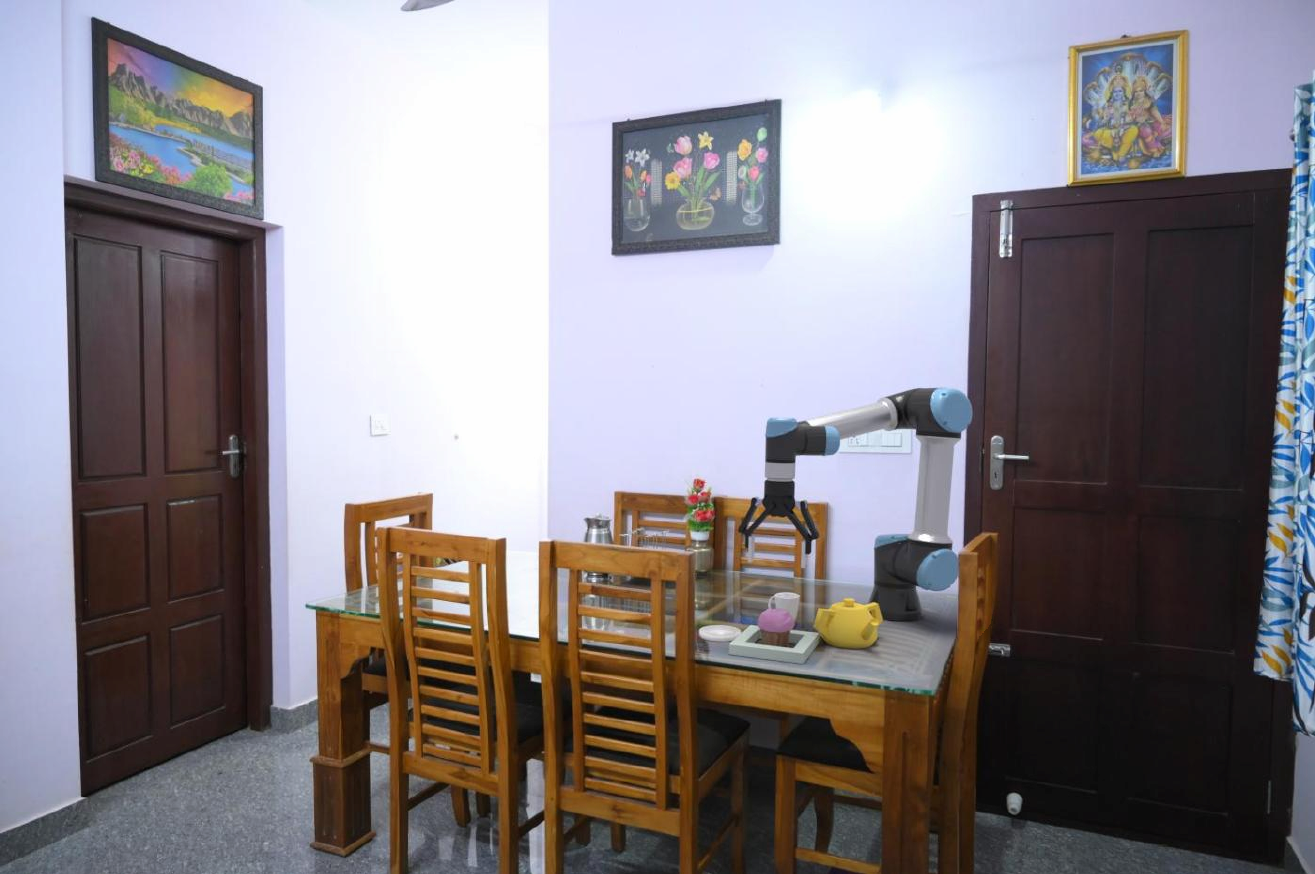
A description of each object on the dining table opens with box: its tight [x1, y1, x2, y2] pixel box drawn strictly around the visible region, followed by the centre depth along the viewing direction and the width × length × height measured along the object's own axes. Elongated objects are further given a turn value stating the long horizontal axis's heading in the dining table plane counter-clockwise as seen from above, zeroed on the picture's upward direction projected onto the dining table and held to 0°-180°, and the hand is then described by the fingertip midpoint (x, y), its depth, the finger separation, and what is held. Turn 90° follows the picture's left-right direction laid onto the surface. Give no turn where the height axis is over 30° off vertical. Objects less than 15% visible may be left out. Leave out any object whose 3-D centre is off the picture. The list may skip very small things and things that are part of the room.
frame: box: [728, 624, 820, 665], centre depth 202 cm, size 18×18×2 cm
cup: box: [767, 591, 801, 626], centre depth 225 cm, size 7×10×8 cm
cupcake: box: [757, 607, 795, 648], centre depth 202 cm, size 9×9×10 cm
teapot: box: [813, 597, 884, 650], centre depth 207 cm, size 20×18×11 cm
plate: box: [698, 624, 742, 643], centre depth 213 cm, size 11×11×1 cm
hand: (777, 564), depth 205 cm, fingers open, 13 cm apart
